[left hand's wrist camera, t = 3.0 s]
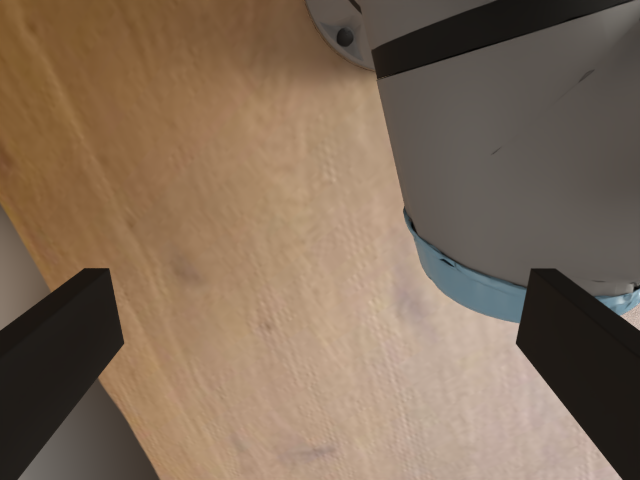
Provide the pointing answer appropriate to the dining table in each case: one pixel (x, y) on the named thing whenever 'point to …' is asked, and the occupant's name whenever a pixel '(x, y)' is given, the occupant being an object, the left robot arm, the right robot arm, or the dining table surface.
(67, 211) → the dining table surface
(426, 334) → the dining table surface
